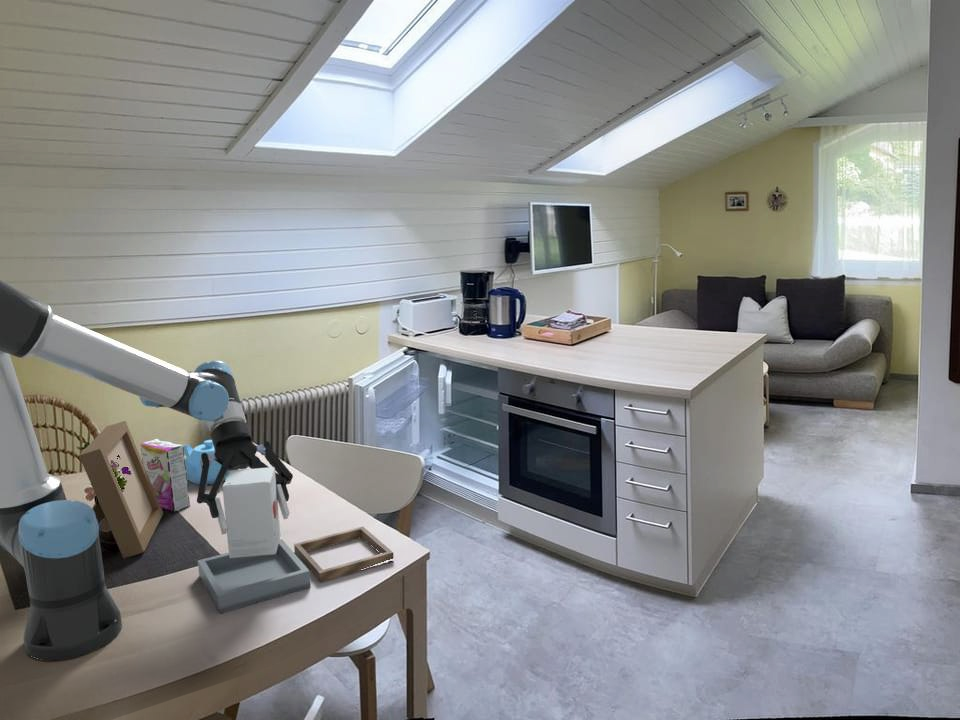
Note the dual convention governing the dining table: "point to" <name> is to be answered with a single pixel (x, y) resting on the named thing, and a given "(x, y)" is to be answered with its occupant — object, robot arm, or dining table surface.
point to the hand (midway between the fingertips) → (256, 523)
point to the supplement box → (251, 512)
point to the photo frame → (124, 511)
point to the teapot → (195, 465)
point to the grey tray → (252, 577)
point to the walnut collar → (342, 569)
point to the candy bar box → (166, 473)
